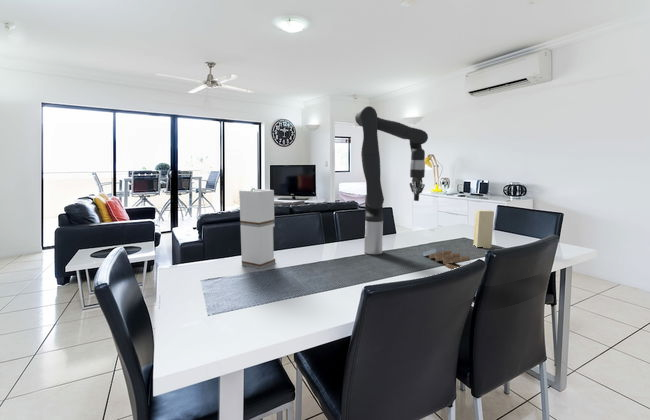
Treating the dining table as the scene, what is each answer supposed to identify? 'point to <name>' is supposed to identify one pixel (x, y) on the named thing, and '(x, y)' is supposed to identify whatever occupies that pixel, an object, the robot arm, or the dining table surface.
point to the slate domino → (433, 251)
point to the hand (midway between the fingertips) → (416, 200)
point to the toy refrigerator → (483, 228)
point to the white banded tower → (257, 227)
